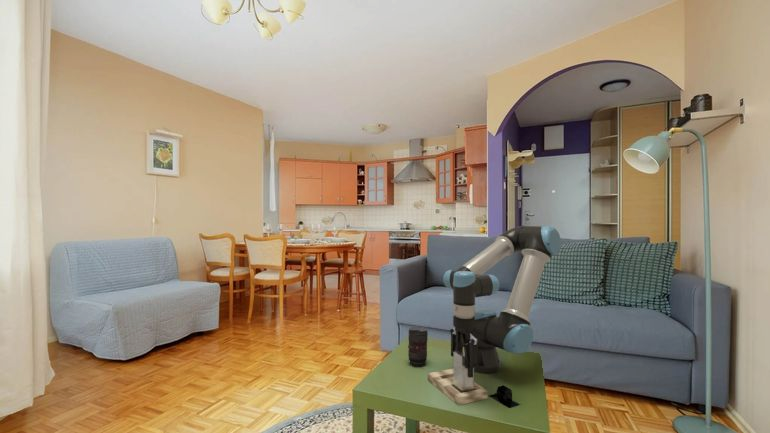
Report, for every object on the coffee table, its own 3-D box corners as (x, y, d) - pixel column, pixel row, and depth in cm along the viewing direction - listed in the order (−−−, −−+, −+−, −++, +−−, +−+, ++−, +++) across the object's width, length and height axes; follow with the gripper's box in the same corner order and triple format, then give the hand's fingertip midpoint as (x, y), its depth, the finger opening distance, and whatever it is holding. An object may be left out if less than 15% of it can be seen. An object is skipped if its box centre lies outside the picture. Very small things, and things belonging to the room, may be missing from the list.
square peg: (465, 383, 126) (465, 349, 126) (473, 389, 121) (473, 354, 121) (453, 385, 124) (453, 351, 124) (461, 391, 119) (462, 356, 119)
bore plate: (453, 374, 138) (453, 368, 138) (487, 398, 120) (487, 391, 120) (427, 380, 133) (427, 373, 133) (458, 405, 115) (458, 397, 115)
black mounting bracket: (483, 396, 122) (483, 382, 123) (498, 391, 126) (498, 378, 126) (511, 413, 112) (511, 399, 112) (527, 407, 115) (527, 393, 115)
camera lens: (426, 368, 144) (426, 332, 144) (407, 366, 145) (407, 330, 146) (428, 360, 152) (428, 326, 152) (409, 359, 153) (409, 325, 154)
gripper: (440, 310, 130) (440, 373, 129) (471, 323, 113) (470, 396, 113) (457, 308, 133) (457, 370, 132) (489, 321, 116) (489, 391, 116)
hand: (463, 382), depth 122 cm, fingers closed on square peg, 5 cm apart
